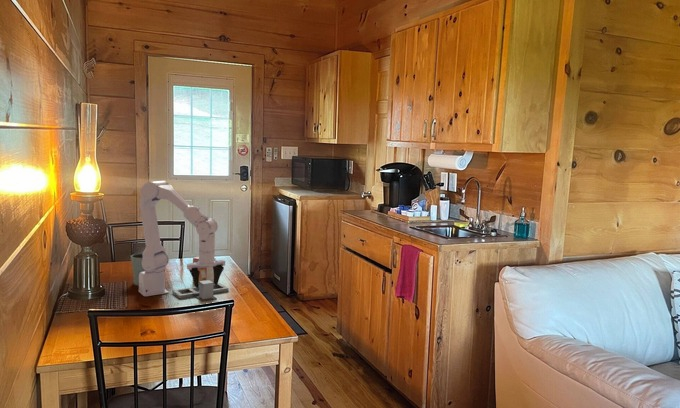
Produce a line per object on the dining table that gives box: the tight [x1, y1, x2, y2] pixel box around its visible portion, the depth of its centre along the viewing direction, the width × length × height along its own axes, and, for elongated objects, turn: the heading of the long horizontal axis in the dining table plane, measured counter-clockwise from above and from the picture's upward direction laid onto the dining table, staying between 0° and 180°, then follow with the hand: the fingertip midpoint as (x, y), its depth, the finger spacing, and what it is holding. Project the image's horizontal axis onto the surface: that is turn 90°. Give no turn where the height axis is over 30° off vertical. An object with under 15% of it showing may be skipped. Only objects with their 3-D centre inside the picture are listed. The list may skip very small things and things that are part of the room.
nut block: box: [198, 280, 214, 299], centre depth 193 cm, size 4×4×6 cm
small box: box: [192, 256, 217, 283], centre depth 215 cm, size 8×6×10 cm
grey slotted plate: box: [171, 282, 230, 300], centre depth 200 cm, size 20×8×1 cm, turn 127°
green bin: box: [130, 252, 145, 287], centre depth 209 cm, size 10×10×12 cm
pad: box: [195, 295, 218, 303], centre depth 193 cm, size 6×6×1 cm
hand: (206, 285), depth 193 cm, fingers open, 7 cm apart
